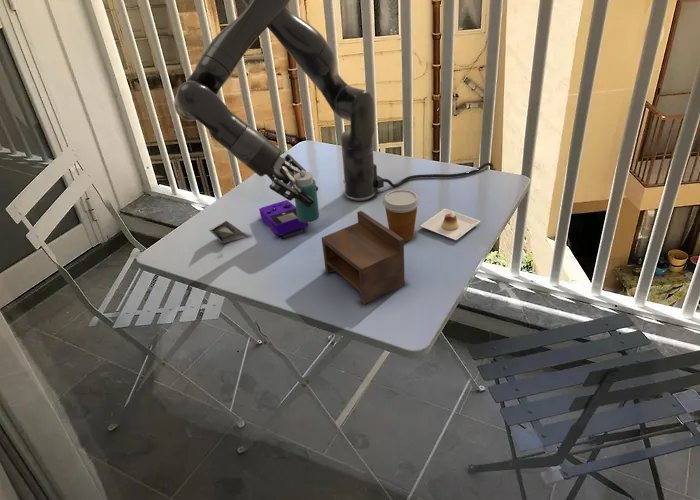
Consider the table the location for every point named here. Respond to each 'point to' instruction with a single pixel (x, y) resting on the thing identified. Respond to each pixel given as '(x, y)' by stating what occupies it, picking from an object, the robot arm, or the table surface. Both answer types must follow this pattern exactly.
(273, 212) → the handheld gaming console
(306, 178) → the pepper mill
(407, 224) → the disposable coffee cup
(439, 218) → the dessert
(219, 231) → the paper boat
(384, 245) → the shelf
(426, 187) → the table surface
